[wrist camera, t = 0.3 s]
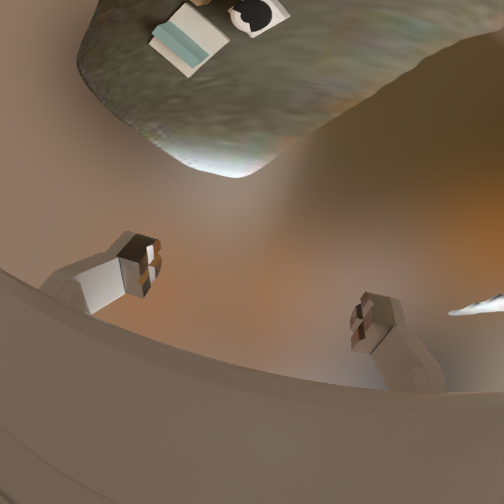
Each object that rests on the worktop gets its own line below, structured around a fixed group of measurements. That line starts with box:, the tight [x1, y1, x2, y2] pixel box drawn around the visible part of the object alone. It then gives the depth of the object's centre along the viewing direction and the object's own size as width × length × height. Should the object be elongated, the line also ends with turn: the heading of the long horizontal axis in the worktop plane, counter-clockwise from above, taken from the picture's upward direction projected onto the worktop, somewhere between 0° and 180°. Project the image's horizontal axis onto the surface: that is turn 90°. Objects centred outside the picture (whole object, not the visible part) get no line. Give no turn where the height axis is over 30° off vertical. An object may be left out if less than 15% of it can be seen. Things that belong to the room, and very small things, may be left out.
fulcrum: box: [149, 3, 230, 78], centre depth 42 cm, size 13×13×6 cm
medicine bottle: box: [228, 0, 290, 38], centre depth 33 cm, size 7×7×12 cm
